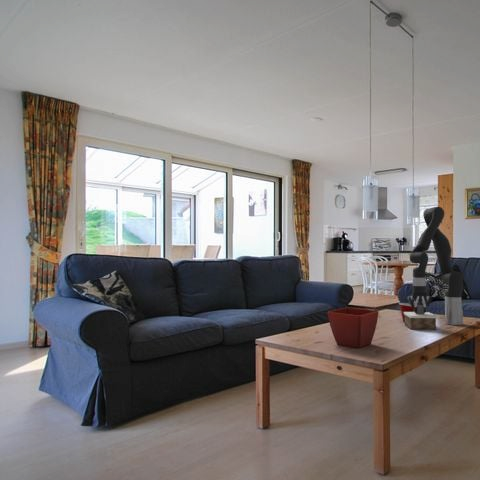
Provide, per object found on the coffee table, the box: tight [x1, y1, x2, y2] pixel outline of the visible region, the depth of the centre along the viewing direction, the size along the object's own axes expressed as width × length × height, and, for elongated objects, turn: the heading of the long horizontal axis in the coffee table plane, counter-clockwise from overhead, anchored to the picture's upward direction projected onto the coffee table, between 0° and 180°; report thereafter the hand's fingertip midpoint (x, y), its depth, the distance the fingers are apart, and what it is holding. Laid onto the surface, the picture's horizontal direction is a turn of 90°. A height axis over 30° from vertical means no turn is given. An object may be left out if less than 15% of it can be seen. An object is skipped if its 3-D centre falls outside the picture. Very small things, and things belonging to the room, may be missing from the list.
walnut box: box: [404, 315, 437, 331], centre depth 252 cm, size 14×14×7 cm
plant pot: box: [327, 307, 379, 349], centre depth 211 cm, size 19×19×17 cm
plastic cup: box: [398, 302, 414, 323], centre depth 270 cm, size 11×11×12 cm
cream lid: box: [404, 304, 438, 319], centre depth 252 cm, size 15×15×7 cm
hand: (419, 313), depth 252 cm, fingers open, 4 cm apart
